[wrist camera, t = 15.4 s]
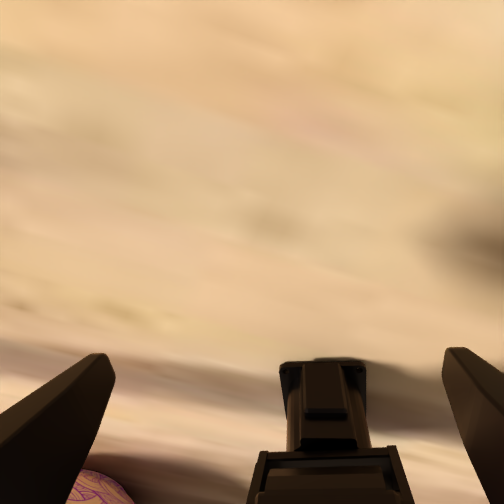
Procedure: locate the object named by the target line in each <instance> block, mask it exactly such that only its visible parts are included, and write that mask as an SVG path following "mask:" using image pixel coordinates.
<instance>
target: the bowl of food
mask: <svg viewBox="0 0 504 504" xmlns="http://www.w3.org/2000/svg"><path fill="white" fill-rule="evenodd" d="M66 504H135V503H134V502H133V501H132V499H131V498H130V497H129V496H128V495H127V493H126V492H125V490H124V489H123V487H122V486H121V485H120V484H118V483H117V482H116V481H115V480H113V479H111V478H109V477H108V476H106V475H104V474H101V473H98V472H95V471H90V470H85V469H81V471H80V473H79V475H78V477H77V480H76V482H75V484H74V486H73V488H72V491H71V493H70V495H69V497H68V499H67V502H66Z"/></svg>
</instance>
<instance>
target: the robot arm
mask: <svg viewBox="0 0 504 504" xmlns="http://www.w3.org/2000/svg"><path fill="white" fill-rule="evenodd" d="M357 368H360V369H357ZM285 369H286V370H285ZM279 374H280V381H281V387H282V393H283V400H284V406H285V413H286V419H287V447H286V452H268V451H260V453H259V457H258V461H257V463H256V465H255V469H254V473H253V477H252V481H251V486H250V490H249V494H248V498H247V502H246V504H415V502H414V499H413V496H412V493H411V490H410V487H409V484H408V481H407V478H406V475H405V472H404V469H403V466H402V463H401V460H400V457H399V454H398V451H397V448H396V445H391V446H387V447H382V448H372V446H371V441H370V436H369V431H368V426H367V422H366V367H365V364H364V363H363V362H359V361H354V362H313V363H283V364H281V365H280V367H279ZM115 378H116V376H115V372H114V370H113V367H112V365H111V363H110V360H109V358H108V356H107V355H106V354H104V353H93V354H90V355H88V356H86V357H85V358H83V359H82V360H80V361H79V362H77V363H76V364H74V365H73V366H71V367H70V368H68V369H67V370H65V371H64V372H62V373H61V374H59V375H58V376H56V377H55V378H53V379H52V380H50V381H49V382H47V383H46V384H44V385H43V386H41V387H40V388H39V389H37V390H36V391H34V392H33V393H31V394H30V395H28V396H27V397H25V398H24V399H22V400H21V401H19V402H18V403H16V404H15V405H13V406H12V407H10V408H9V409H7V410H6V411H4V412H3V413H1V414H0V504H66V502H67V499H68V497H69V495H70V493H71V491H72V488H73V486H74V484H75V482H76V480H77V477H78V475H79V473H80V471H81V469H82V466H83V464H84V462H85V460H86V458H87V455H88V453H89V451H90V449H91V447H92V444H93V442H94V440H95V437H96V435H97V432H98V430H99V427H100V424H101V421H102V418H103V415H104V413H105V410H106V407H107V404H108V401H109V398H110V395H111V392H112V390H113V387H114V384H115ZM442 380H443V384H444V387H445V390H446V393H447V396H448V399H449V402H450V405H451V408H452V411H453V414H454V417H455V420H456V423H457V426H458V429H459V432H460V435H461V438H462V441H463V444H464V446H465V449H466V451H467V453H468V456H469V458H470V460H471V463H472V465H473V467H474V469H475V471H476V474H477V476H478V478H479V480H480V482H481V485H482V487H483V489H484V491H485V494H486V496H487V498H488V500H489V502H490V504H504V373H502V372H501V371H499V370H498V369H496V368H495V367H494V366H492V365H491V364H489V363H488V362H486V361H485V360H484V359H482V358H481V357H479V356H478V355H476V354H475V353H473V352H472V351H471V350H469V349H467V348H465V347H449V348H447V349H446V350H445V355H444V361H443V367H442Z"/></svg>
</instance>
